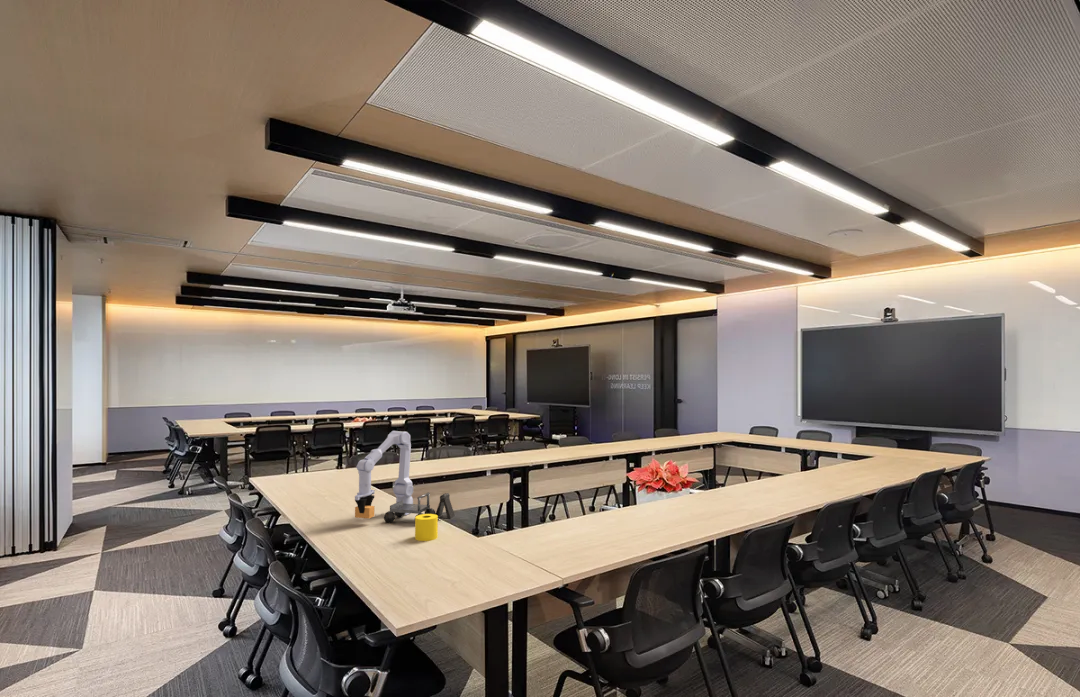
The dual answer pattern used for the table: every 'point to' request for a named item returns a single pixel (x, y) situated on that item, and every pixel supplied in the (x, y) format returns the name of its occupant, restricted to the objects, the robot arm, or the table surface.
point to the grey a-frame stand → (448, 507)
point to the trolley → (408, 509)
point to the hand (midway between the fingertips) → (364, 511)
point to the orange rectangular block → (365, 512)
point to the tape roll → (426, 527)
